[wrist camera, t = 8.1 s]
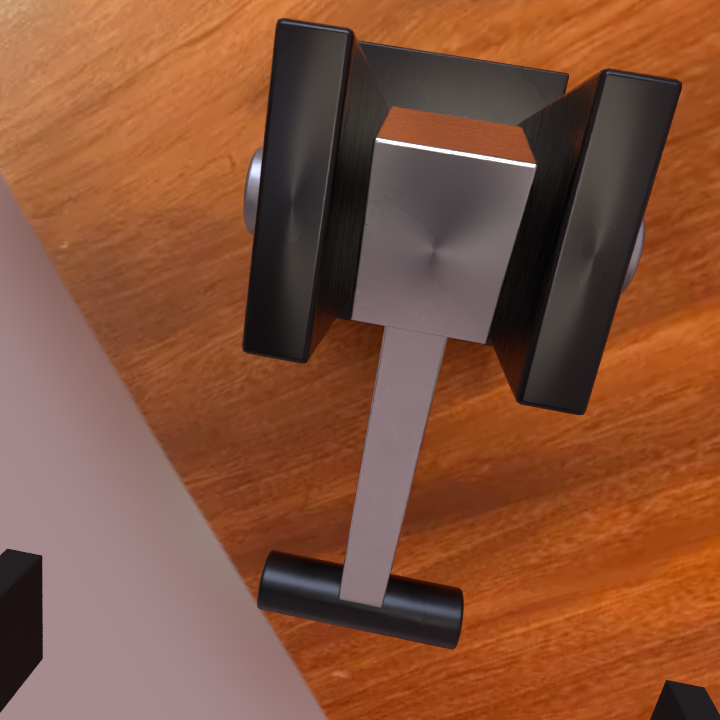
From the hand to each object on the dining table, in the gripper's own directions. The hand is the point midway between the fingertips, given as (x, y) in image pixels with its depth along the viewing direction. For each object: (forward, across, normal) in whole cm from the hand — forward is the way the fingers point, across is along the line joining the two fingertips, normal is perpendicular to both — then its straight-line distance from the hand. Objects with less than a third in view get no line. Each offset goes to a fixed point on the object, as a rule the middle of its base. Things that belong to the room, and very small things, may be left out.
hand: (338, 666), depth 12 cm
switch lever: (+2, 0, +5) cm, 6 cm away
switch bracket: (+12, 0, +9) cm, 15 cm away
